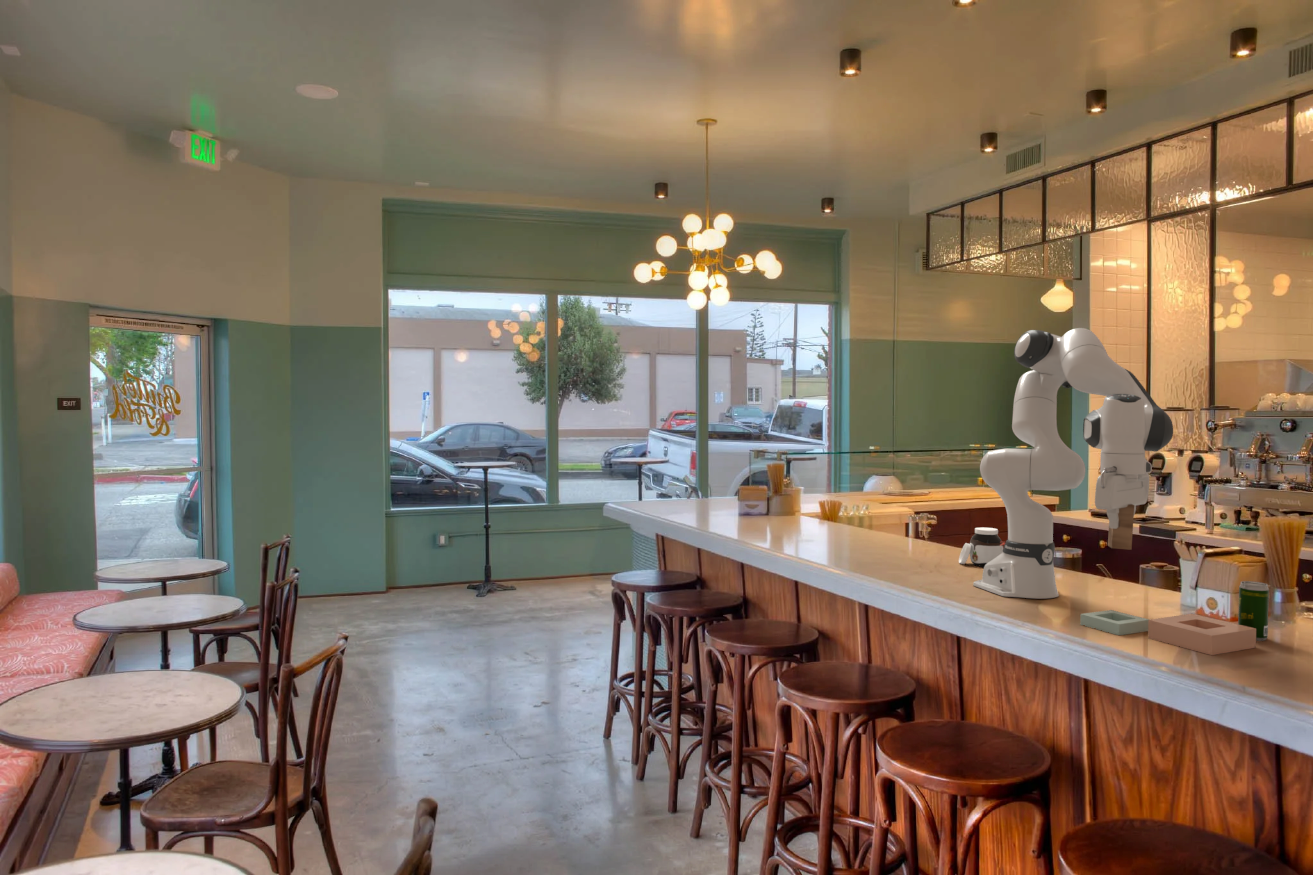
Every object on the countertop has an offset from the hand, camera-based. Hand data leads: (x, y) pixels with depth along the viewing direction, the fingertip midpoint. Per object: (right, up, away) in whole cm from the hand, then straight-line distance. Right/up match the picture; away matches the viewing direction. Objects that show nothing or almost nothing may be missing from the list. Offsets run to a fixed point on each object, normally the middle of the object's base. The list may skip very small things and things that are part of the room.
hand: (1121, 526), depth 195 cm
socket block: (+11, -24, -11) cm, 28 cm away
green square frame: (-1, -23, +2) cm, 23 cm away
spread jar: (-3, -21, +78) cm, 80 cm away
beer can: (+25, -24, -7) cm, 35 cm away
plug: (0, -5, 0) cm, 5 cm away
